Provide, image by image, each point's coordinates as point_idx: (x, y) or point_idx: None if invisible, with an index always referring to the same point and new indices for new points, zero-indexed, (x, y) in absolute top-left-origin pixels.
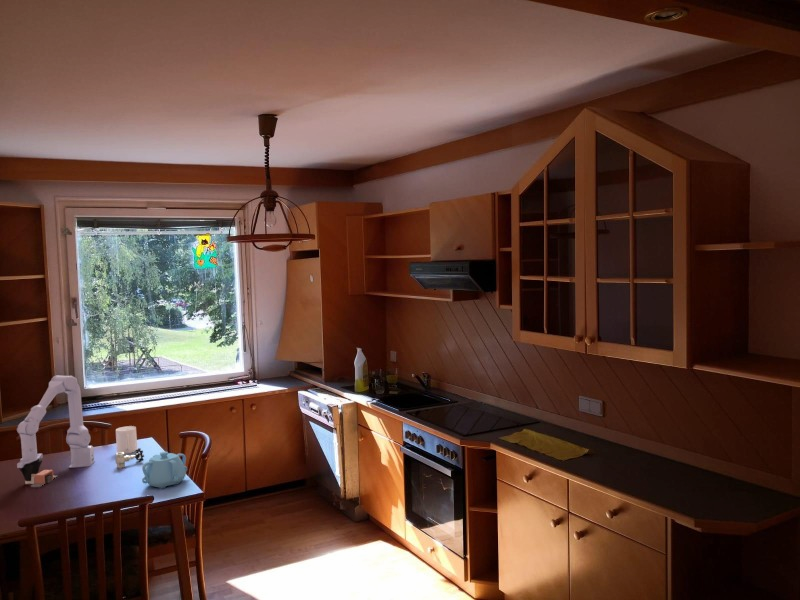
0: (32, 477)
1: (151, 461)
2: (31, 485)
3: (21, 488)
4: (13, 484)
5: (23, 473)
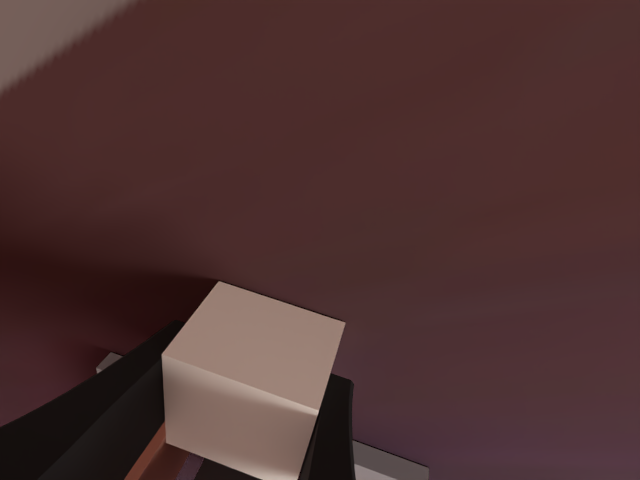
0: (169, 426)
1: None
2: (98, 371)
3: (67, 275)
4: (211, 107)
5: (49, 418)
